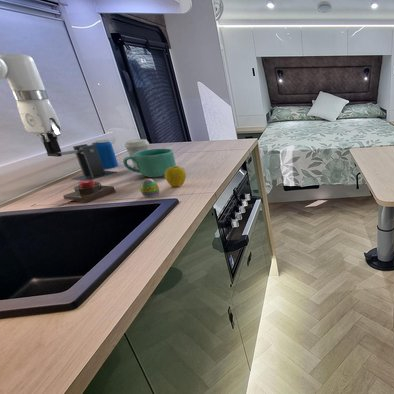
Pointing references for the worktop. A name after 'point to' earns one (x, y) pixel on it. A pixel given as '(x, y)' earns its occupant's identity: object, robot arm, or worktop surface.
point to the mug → (152, 162)
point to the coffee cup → (136, 147)
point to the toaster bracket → (90, 163)
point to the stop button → (86, 183)
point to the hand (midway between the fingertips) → (54, 152)
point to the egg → (149, 188)
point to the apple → (175, 175)
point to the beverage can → (106, 153)
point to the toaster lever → (66, 152)
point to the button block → (89, 193)
